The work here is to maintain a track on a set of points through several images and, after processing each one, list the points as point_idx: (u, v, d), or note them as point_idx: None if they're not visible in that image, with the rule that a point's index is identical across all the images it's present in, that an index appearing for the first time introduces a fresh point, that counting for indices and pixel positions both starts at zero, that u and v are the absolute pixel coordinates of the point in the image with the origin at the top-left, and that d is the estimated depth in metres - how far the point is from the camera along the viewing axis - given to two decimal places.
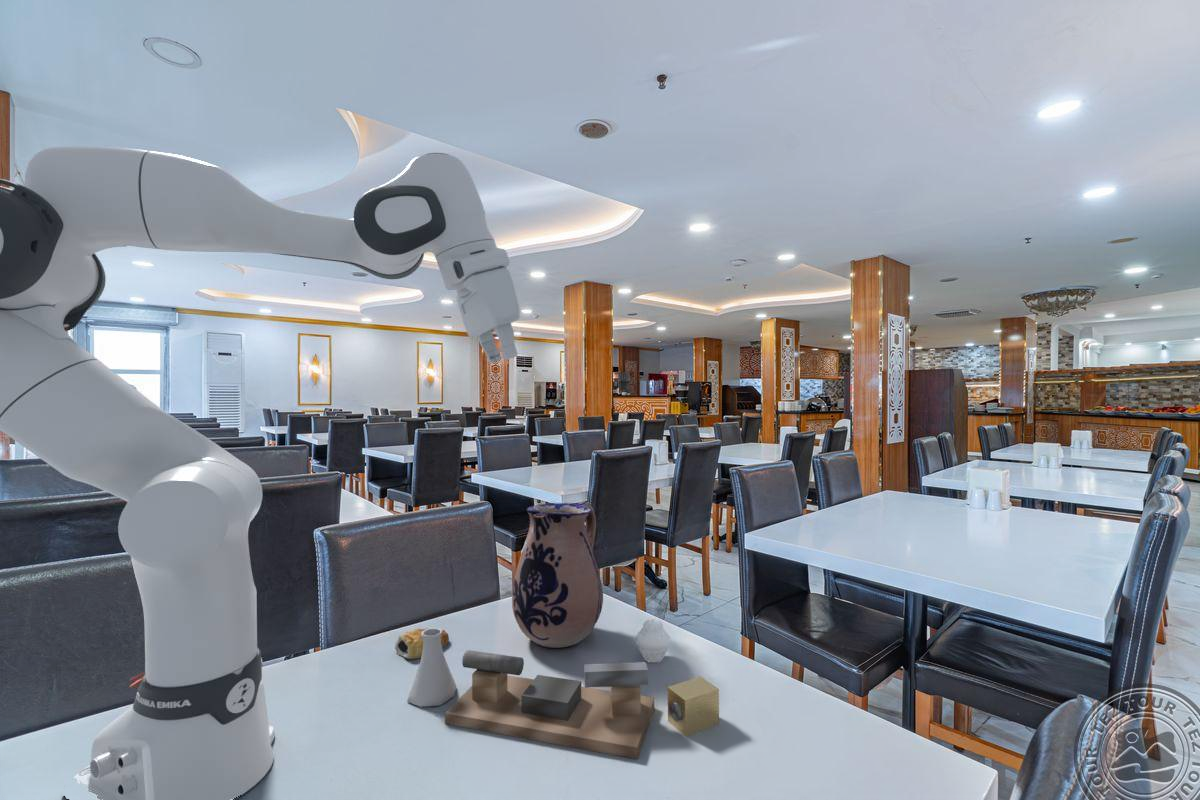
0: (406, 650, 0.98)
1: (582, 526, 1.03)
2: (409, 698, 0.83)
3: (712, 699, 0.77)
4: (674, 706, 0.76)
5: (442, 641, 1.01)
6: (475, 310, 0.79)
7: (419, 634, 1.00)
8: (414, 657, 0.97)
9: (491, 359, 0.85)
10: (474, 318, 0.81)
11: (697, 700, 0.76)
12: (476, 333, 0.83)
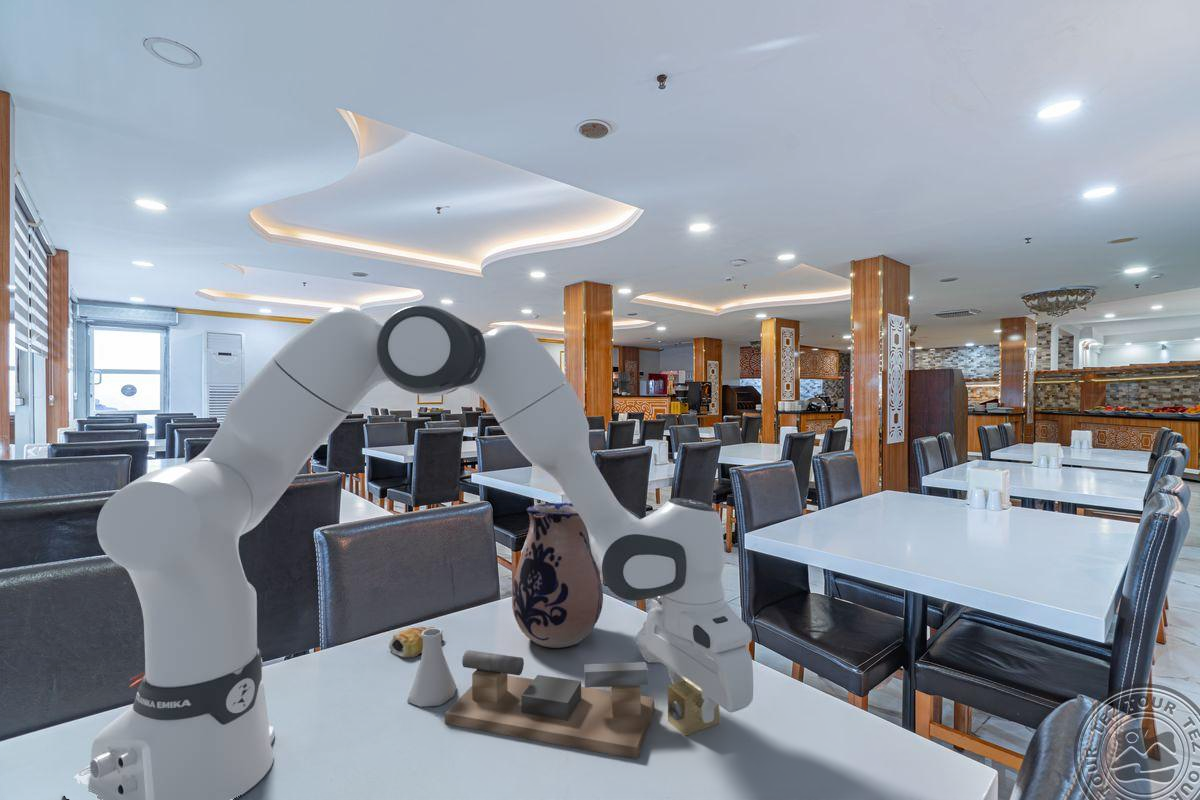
0: (401, 649, 0.99)
1: (582, 526, 1.03)
2: (409, 698, 0.83)
3: None
4: (674, 705, 0.76)
5: None
6: (688, 660, 0.76)
7: (414, 633, 1.00)
8: (410, 655, 0.97)
9: None
10: (678, 659, 0.78)
11: (697, 699, 0.76)
12: (669, 667, 0.80)
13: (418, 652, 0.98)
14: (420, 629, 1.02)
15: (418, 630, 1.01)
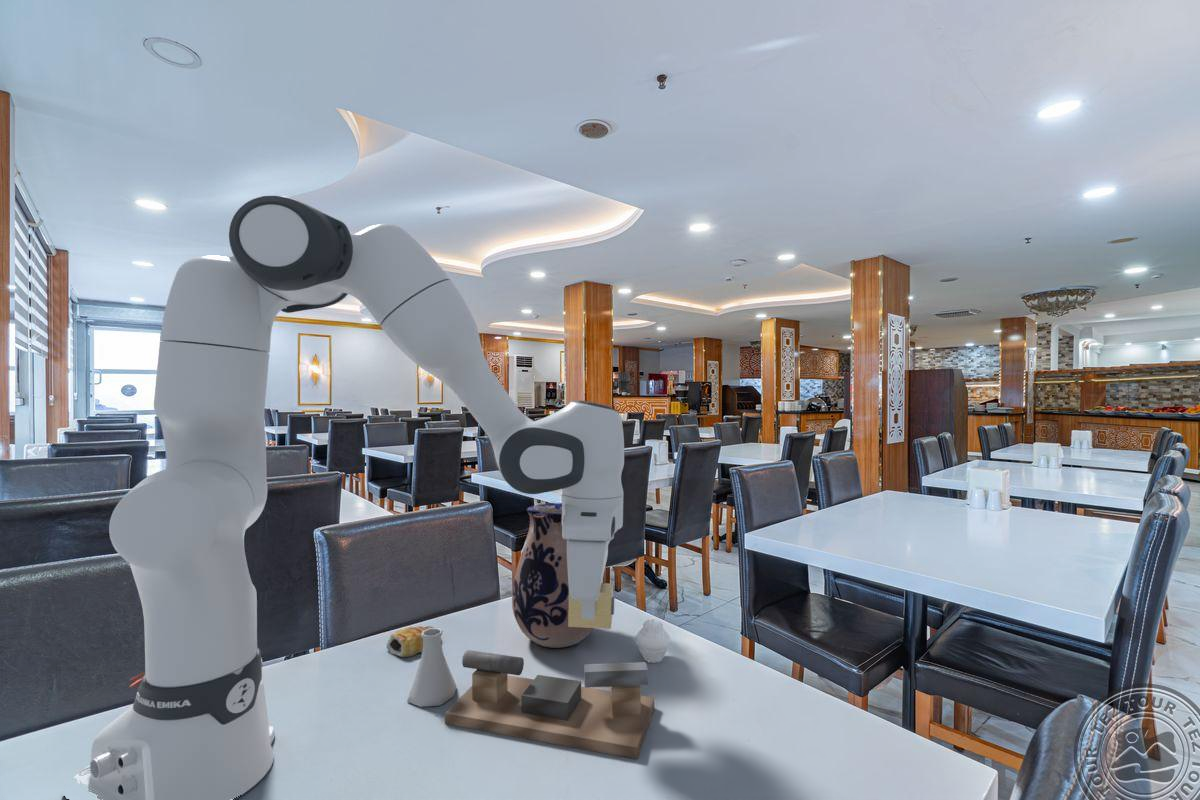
0: (399, 648, 0.99)
1: None
2: (409, 698, 0.83)
3: (602, 600, 0.76)
4: (568, 598, 0.79)
5: None
6: None
7: (411, 632, 1.00)
8: (408, 655, 0.98)
9: None
10: None
11: None
12: None
13: (416, 651, 0.98)
14: (418, 628, 1.02)
15: (416, 629, 1.02)
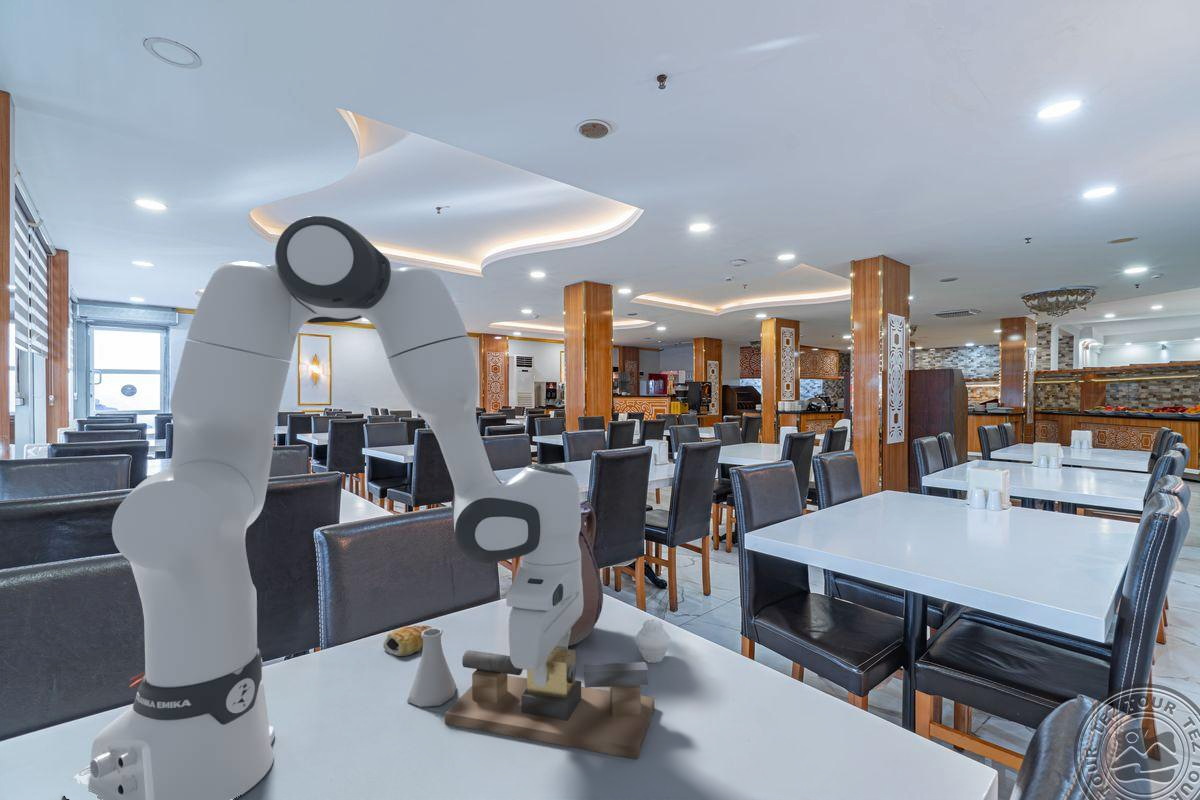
0: (396, 647, 0.99)
1: (582, 526, 1.03)
2: (409, 698, 0.83)
3: (558, 669, 0.77)
4: None
5: None
6: None
7: (408, 631, 1.01)
8: (405, 654, 0.98)
9: None
10: None
11: None
12: None
13: (413, 650, 0.99)
14: (414, 628, 1.03)
15: (412, 629, 1.02)
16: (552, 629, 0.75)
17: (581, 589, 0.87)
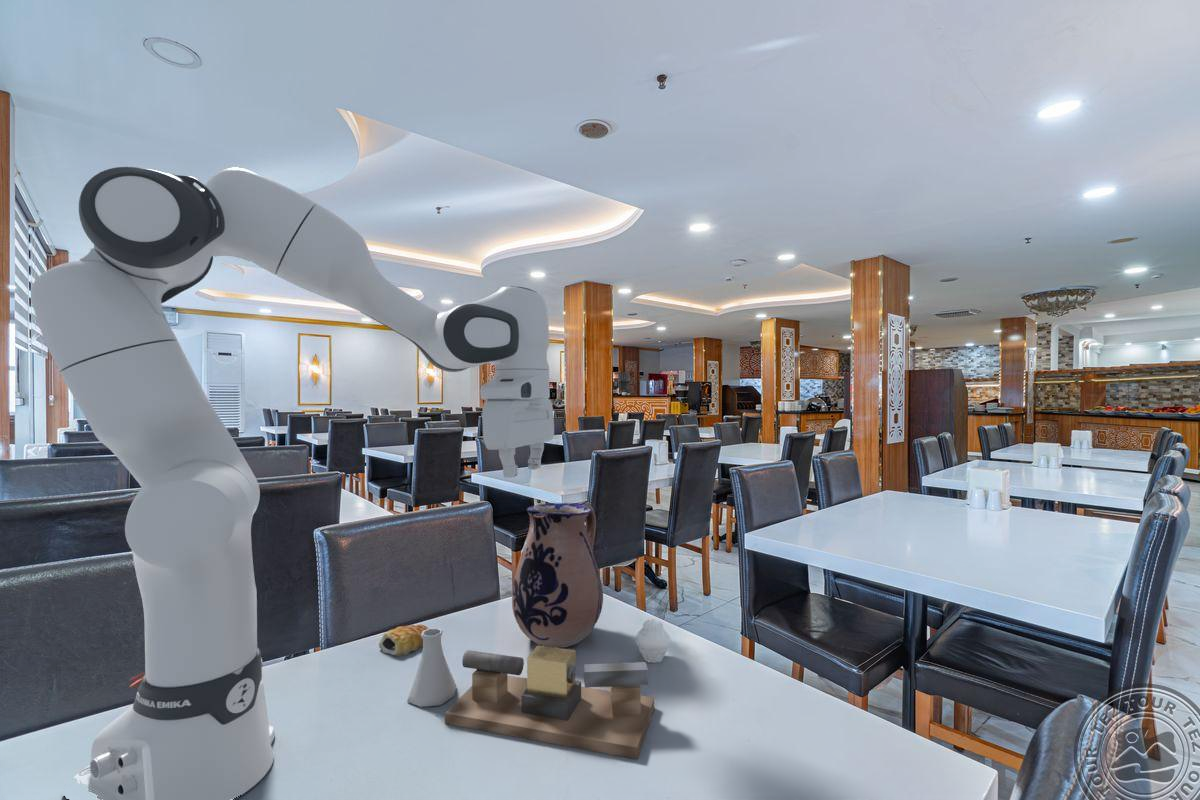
0: (392, 647, 0.99)
1: (582, 526, 1.03)
2: (409, 698, 0.83)
3: (558, 669, 0.77)
4: None
5: None
6: None
7: (404, 631, 1.01)
8: (402, 653, 0.98)
9: (529, 465, 0.93)
10: None
11: (541, 663, 0.78)
12: None
13: (410, 649, 0.99)
14: (410, 627, 1.03)
15: (408, 628, 1.02)
16: (522, 425, 0.85)
17: (552, 415, 0.97)
